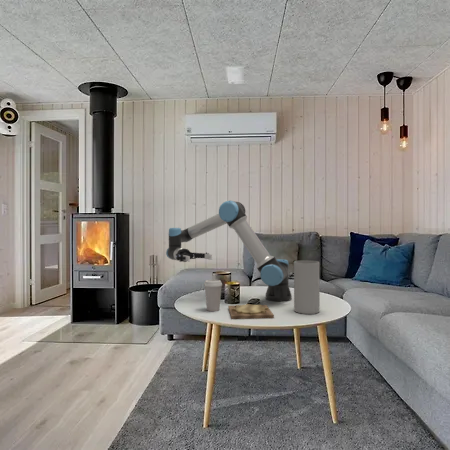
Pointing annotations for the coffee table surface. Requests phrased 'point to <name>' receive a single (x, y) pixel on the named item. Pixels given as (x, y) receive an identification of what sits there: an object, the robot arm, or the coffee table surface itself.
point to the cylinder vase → (306, 287)
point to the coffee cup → (213, 294)
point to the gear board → (250, 312)
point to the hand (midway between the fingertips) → (200, 258)
